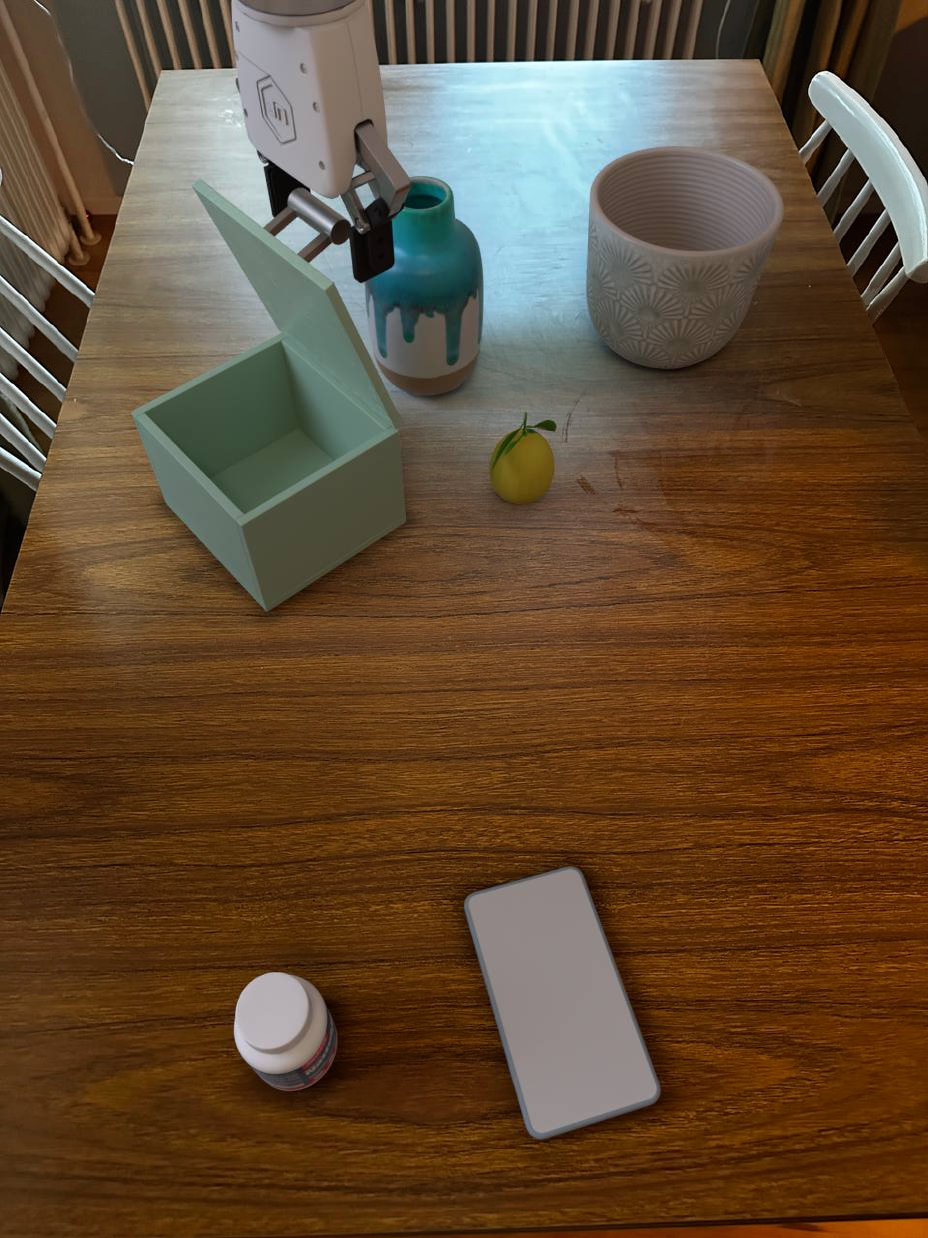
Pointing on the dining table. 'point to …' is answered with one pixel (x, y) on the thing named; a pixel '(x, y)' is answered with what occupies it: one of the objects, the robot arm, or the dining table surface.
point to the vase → (428, 295)
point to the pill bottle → (285, 1031)
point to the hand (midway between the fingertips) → (332, 241)
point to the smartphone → (559, 1003)
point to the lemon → (523, 464)
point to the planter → (676, 251)
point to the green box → (275, 467)
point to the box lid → (302, 288)
